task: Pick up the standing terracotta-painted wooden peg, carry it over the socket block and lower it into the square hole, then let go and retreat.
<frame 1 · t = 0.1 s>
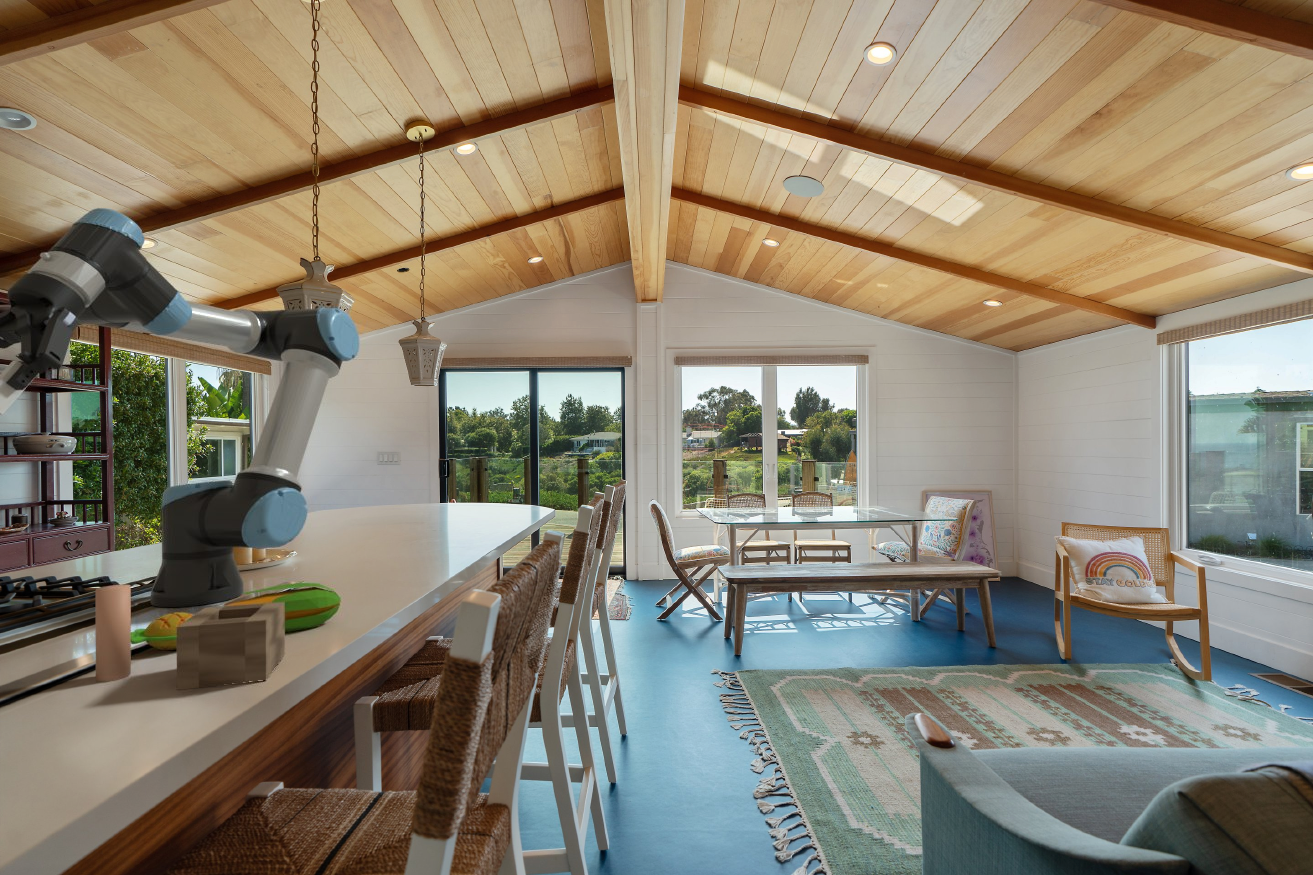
toy pineapple: (165, 651, 98), on the counter, touching corn
corn: (274, 632, 107), on the counter, touching toy pineapple
peg: (113, 676, 86), on the counter
socket block: (234, 671, 88), on the counter
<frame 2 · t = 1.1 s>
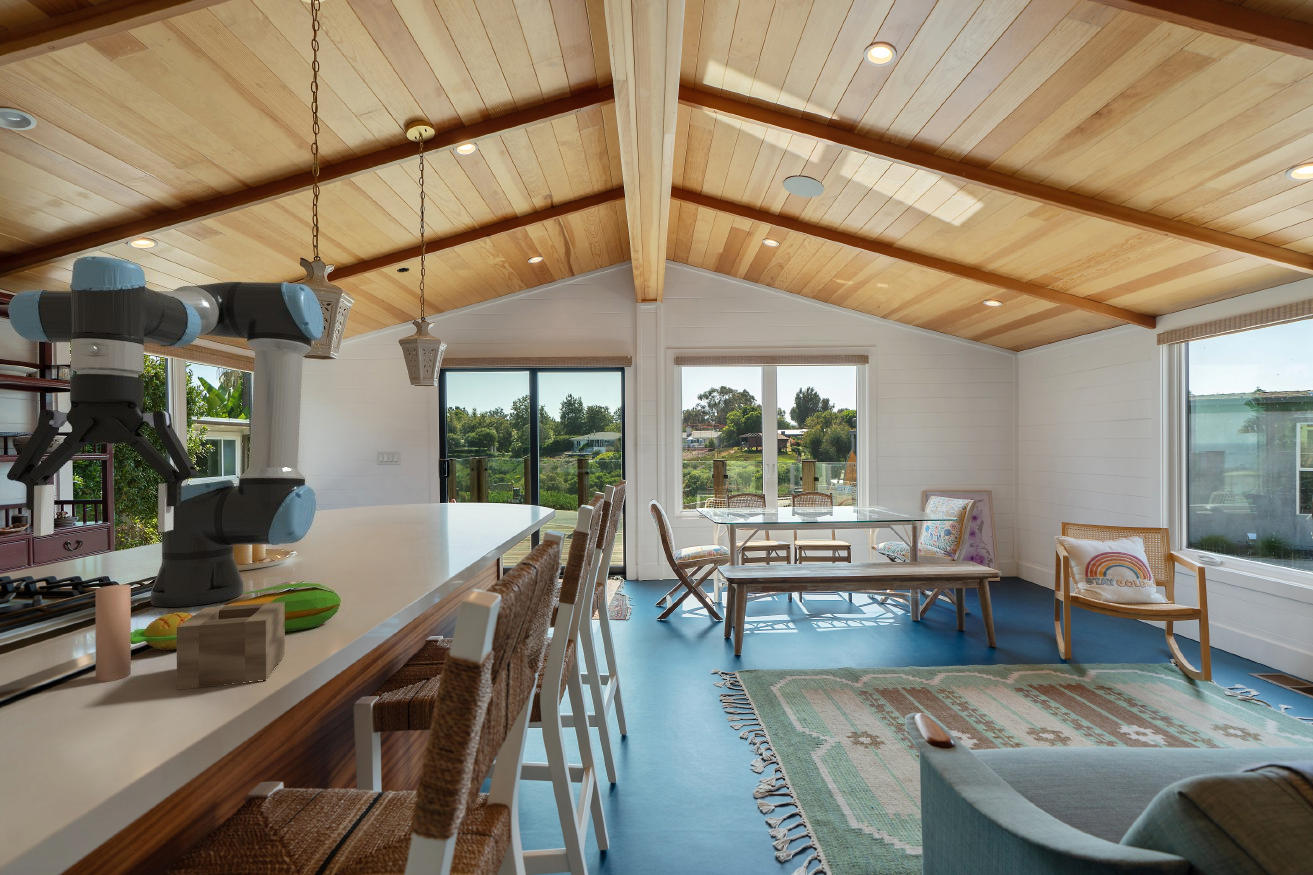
hand: (106, 533, 86), 19 cm above the counter, tool pointing down, fingers open, 13 cm apart
toy pineapple: (165, 651, 98), on the counter
corn: (274, 633, 107), on the counter
everything else where it was.
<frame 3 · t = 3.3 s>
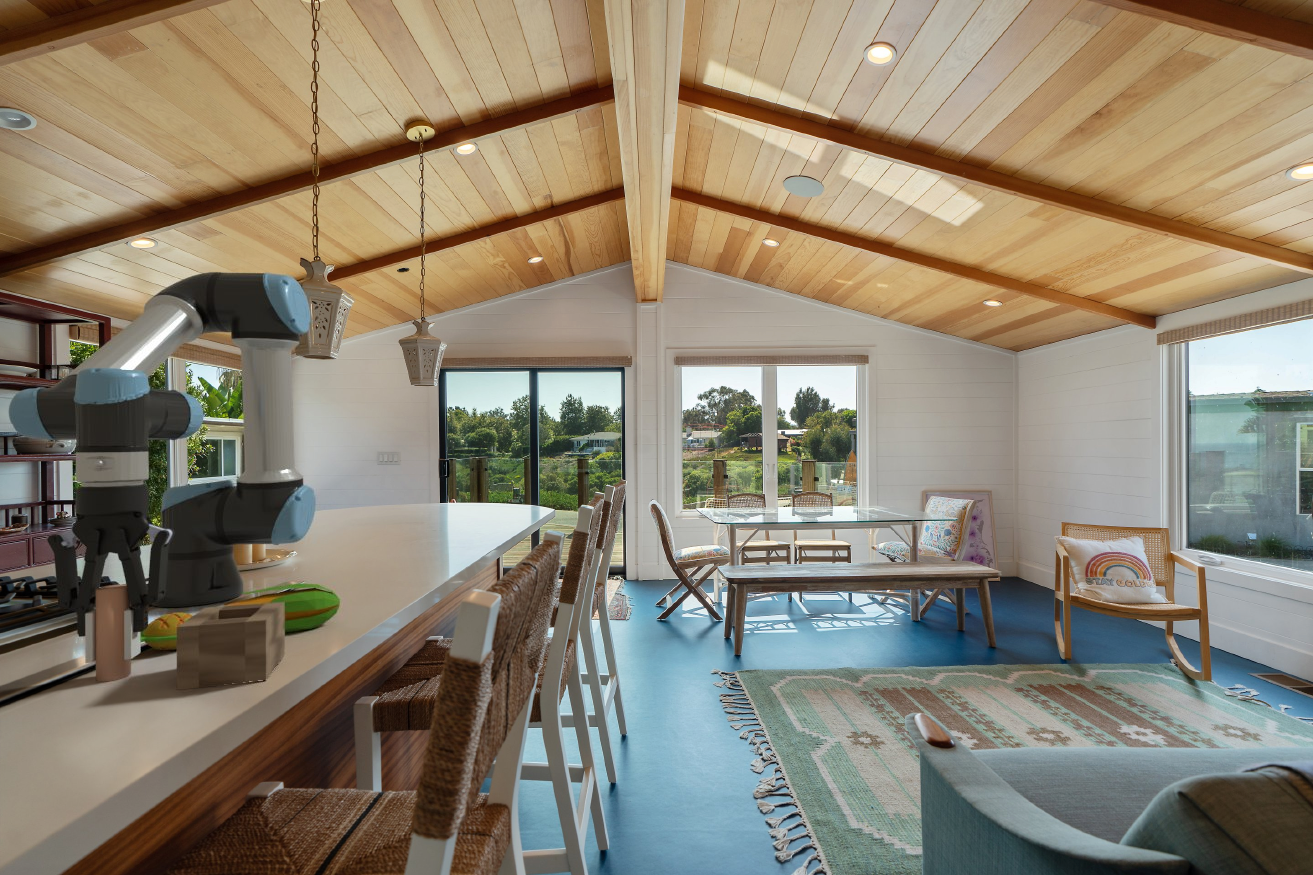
hand: (113, 657, 86), 3 cm above the counter, tool pointing down, fingers closed on peg, 3 cm apart
peg: (113, 676, 86), on the counter, touching gripper
everything else where it was.
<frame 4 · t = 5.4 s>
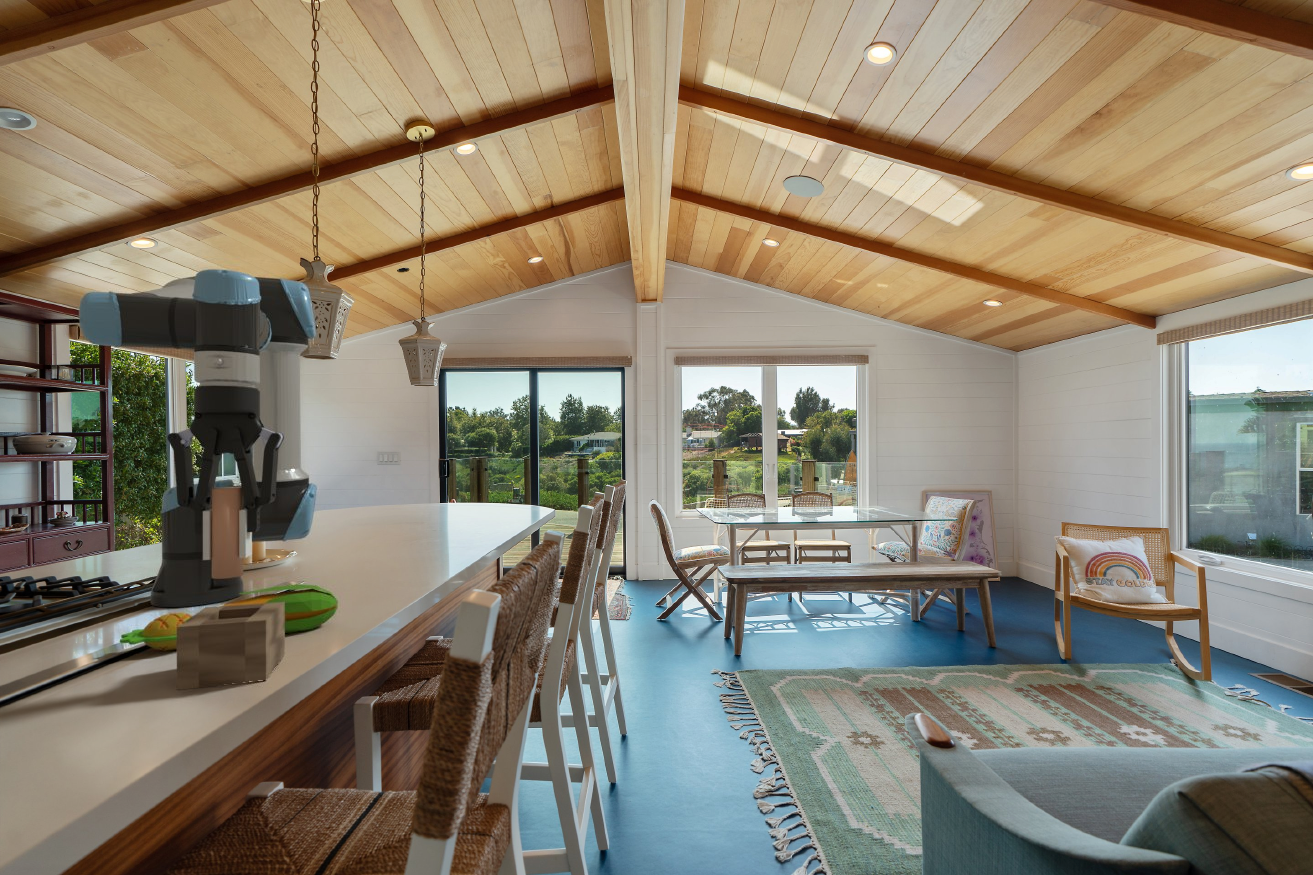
hand: (227, 556, 88), 16 cm above the counter, tool pointing down, fingers closed on peg, 3 cm apart
peg: (227, 575, 88), point 13 cm above the counter, touching gripper
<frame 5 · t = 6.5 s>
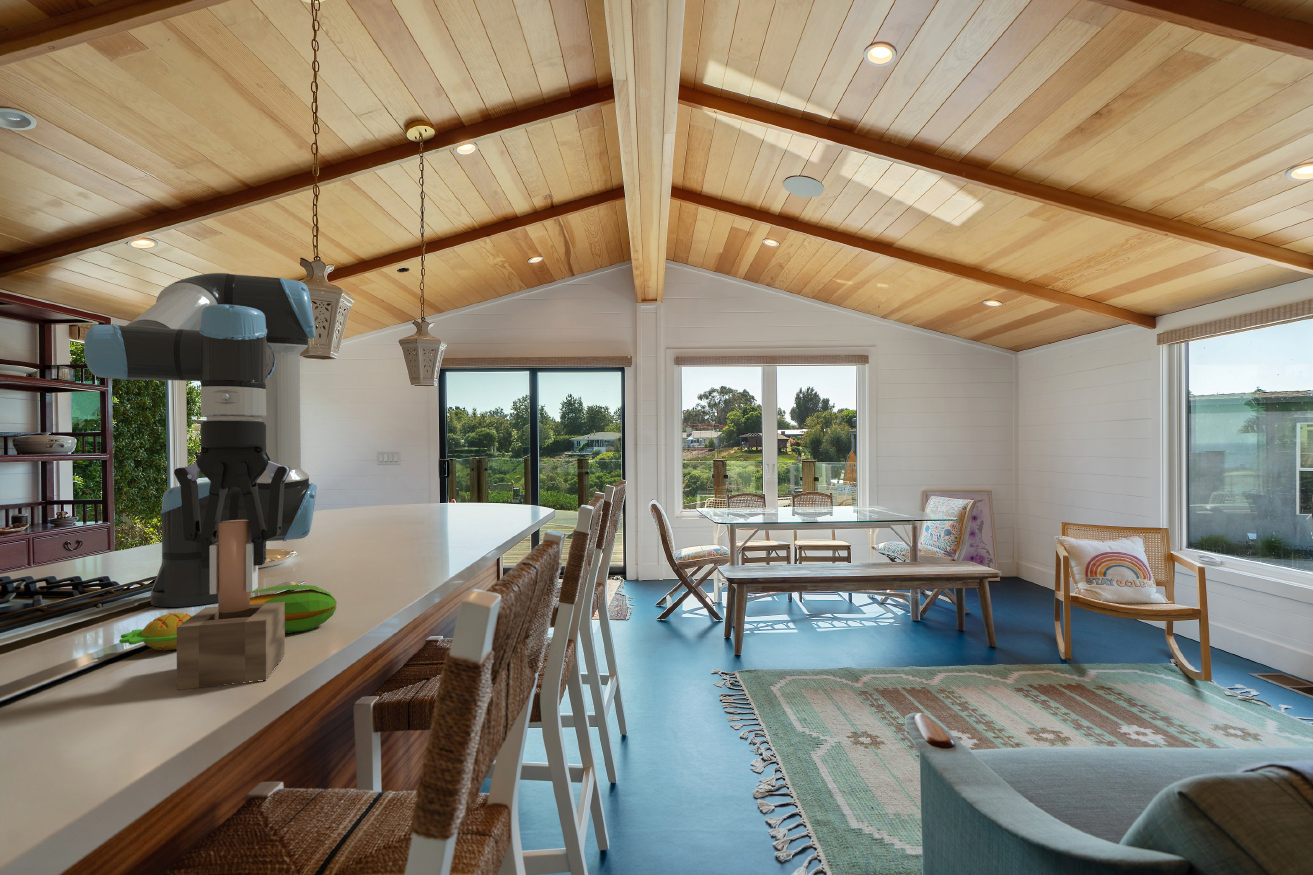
hand: (234, 590, 88), 11 cm above the counter, tool pointing down, fingers closed on peg, 3 cm apart
peg: (234, 609, 88), point 9 cm above the counter, touching gripper
everything else where it was.
when the fingers open (9 cm above the counter, at t = 7.3 s): peg drops 6 cm, resting in socket block.
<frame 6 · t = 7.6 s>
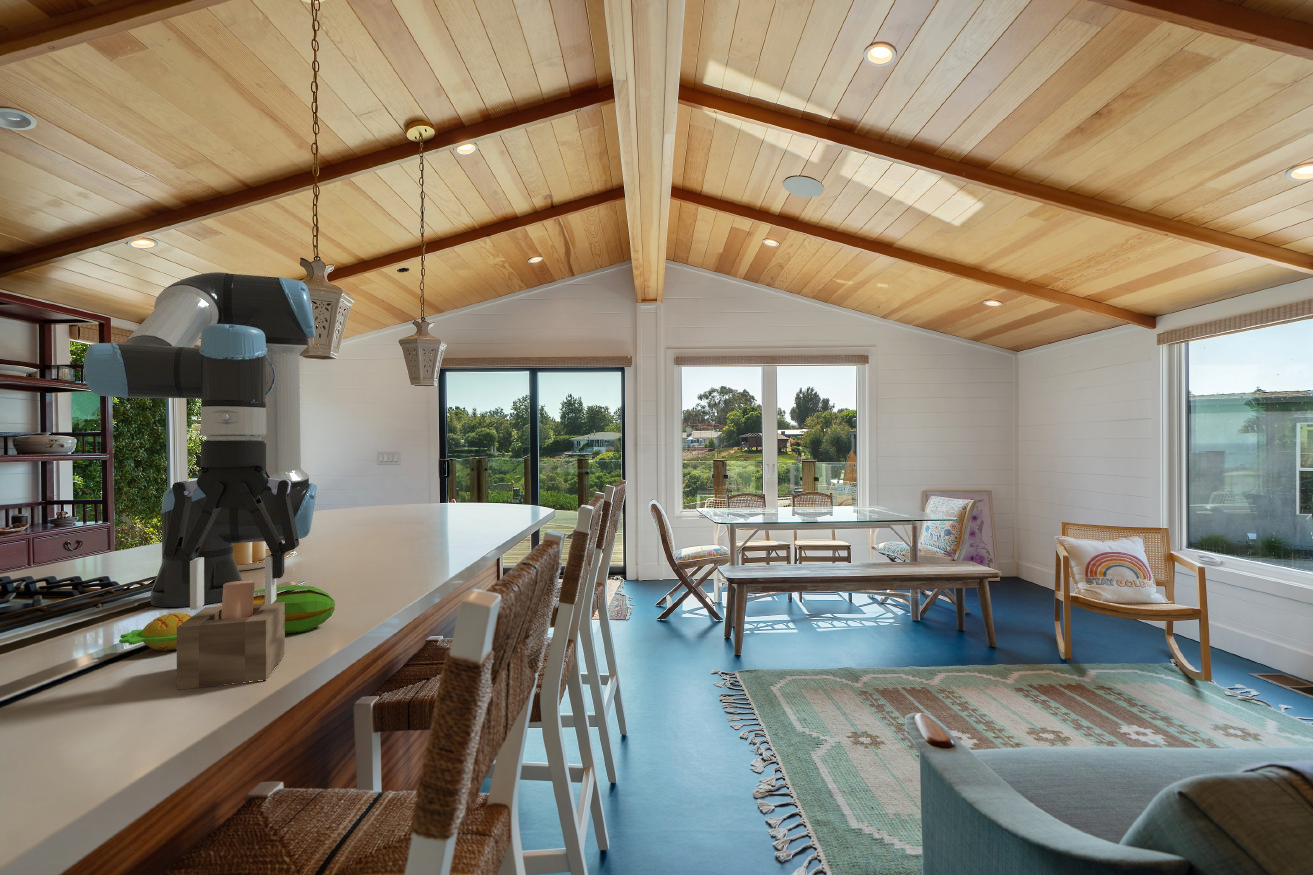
hand: (234, 604, 88), 9 cm above the counter, tool pointing down, fingers open, 8 cm apart
peg: (233, 671, 88), resting in socket block
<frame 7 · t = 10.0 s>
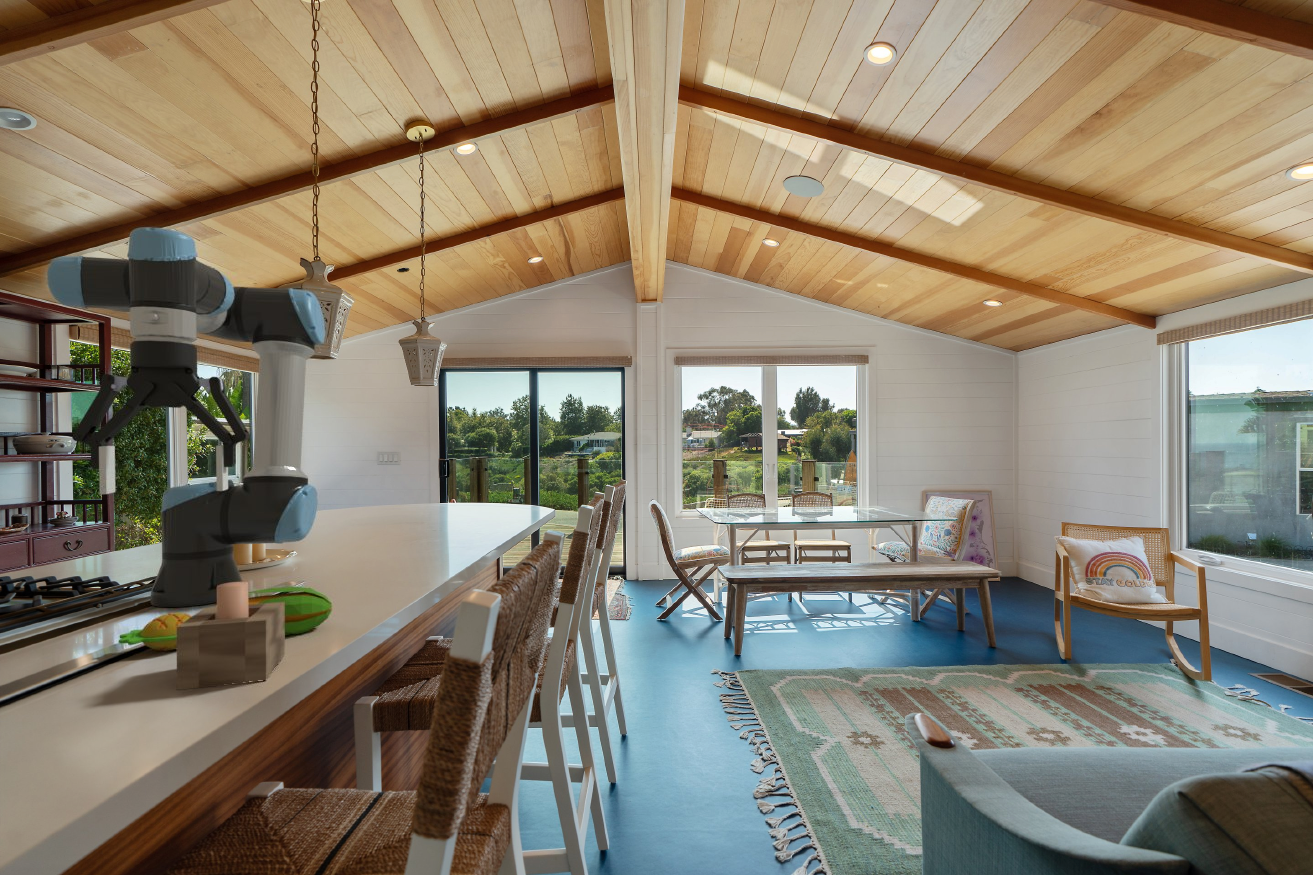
hand: (166, 491, 91), 24 cm above the counter, tool pointing down, fingers open, 13 cm apart
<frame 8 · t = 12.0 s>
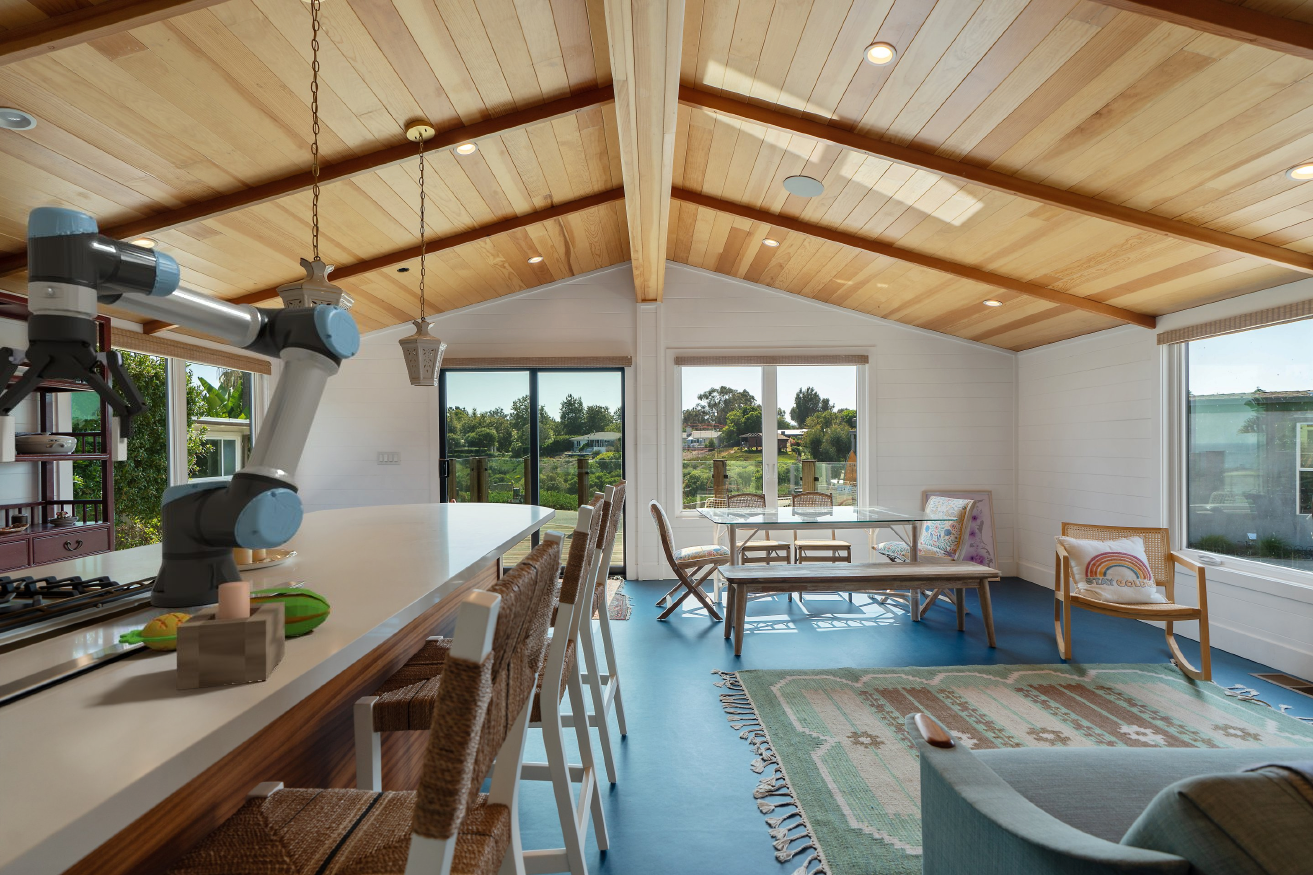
hand: (63, 461, 95), 29 cm above the counter, tool pointing down, fingers open, 13 cm apart
at the end: peg 0.1 cm off-centre on the socket block, point 0.0 cm above the socket block's base; peg tilted 1°; the gripper is holding nothing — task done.
